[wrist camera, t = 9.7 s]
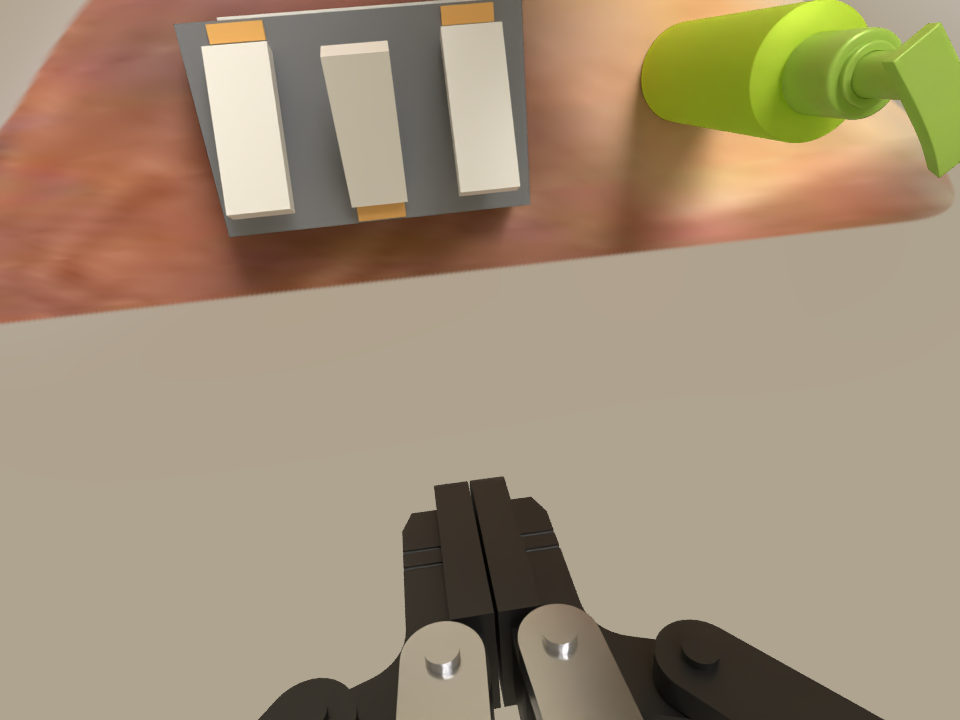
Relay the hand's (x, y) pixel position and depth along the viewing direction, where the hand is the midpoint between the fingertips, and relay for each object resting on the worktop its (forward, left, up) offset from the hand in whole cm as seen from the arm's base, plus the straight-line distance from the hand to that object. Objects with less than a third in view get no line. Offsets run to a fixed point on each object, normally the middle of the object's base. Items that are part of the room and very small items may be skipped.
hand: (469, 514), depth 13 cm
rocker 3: (-7, -2, -25) cm, 26 cm away
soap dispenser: (-19, +6, -31) cm, 37 cm away
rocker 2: (-2, -6, -25) cm, 26 cm away
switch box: (-2, -6, -31) cm, 31 cm away
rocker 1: (+2, -10, -25) cm, 27 cm away
